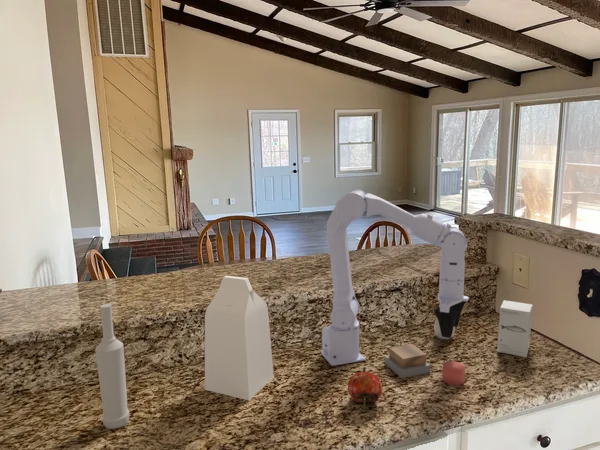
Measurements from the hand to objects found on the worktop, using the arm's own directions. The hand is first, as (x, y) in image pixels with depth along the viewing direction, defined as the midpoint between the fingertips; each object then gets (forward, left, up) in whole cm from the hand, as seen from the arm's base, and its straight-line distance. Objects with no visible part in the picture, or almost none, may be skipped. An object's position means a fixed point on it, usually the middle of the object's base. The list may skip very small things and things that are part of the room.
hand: (449, 331), depth 113 cm
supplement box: (+22, +2, -10) cm, 24 cm away
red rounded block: (-3, -6, -10) cm, 12 cm away
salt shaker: (+10, +16, -10) cm, 21 cm away
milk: (-51, +10, -10) cm, 53 cm away
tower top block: (-10, +3, -8) cm, 13 cm away
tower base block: (-10, +3, -10) cm, 14 cm away
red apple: (-27, -8, -10) cm, 30 cm away
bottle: (-78, +3, -10) cm, 79 cm away
